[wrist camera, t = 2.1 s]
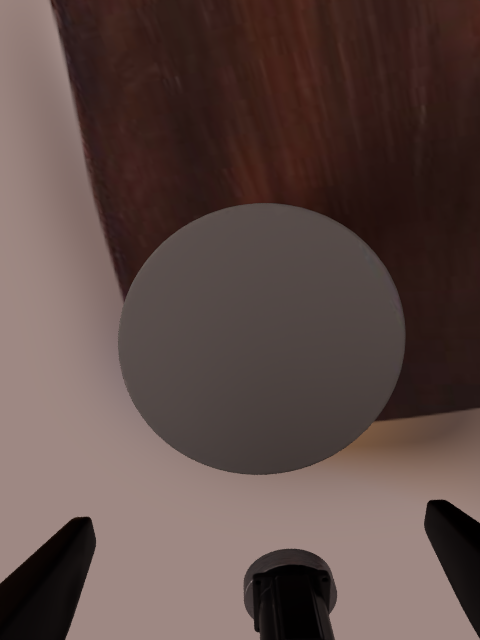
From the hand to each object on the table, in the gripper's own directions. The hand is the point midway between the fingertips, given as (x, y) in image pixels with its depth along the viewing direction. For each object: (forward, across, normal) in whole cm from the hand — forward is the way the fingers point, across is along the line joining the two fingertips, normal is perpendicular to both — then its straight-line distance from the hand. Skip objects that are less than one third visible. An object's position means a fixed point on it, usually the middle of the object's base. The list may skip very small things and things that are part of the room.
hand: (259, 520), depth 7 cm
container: (+13, 0, -5) cm, 14 cm away
